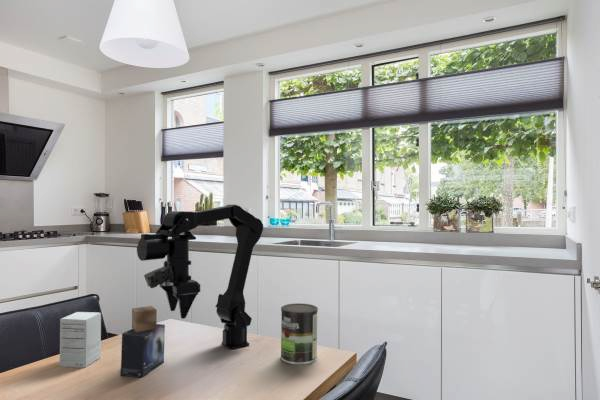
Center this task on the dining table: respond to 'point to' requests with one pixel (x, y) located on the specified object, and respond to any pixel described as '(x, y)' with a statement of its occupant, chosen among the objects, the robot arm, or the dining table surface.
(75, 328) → the supplement box
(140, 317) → the walnut cube
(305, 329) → the coffee can
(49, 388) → the dining table surface
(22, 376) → the dining table surface
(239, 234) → the robot arm
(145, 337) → the small box
